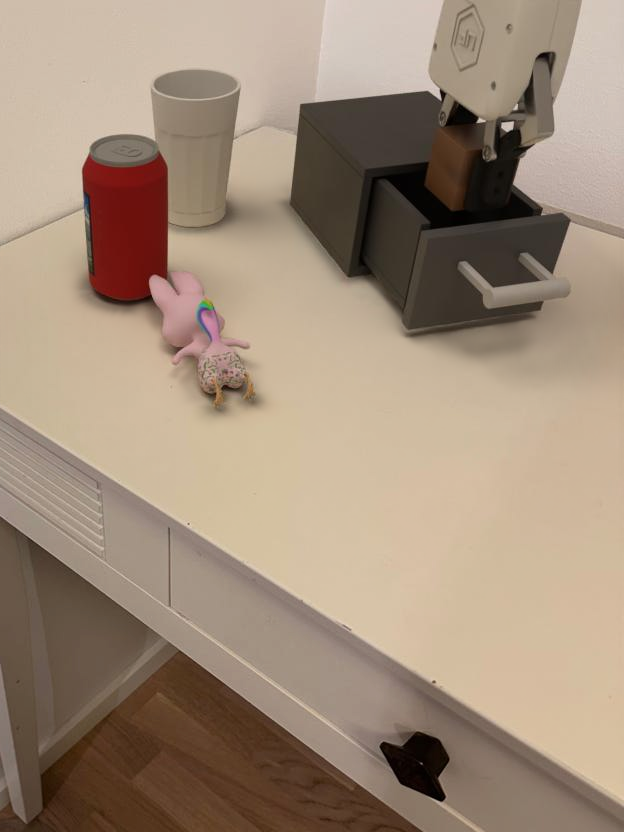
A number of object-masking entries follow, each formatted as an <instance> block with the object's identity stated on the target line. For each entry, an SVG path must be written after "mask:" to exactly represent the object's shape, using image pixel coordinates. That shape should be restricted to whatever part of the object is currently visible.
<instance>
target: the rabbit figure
mask: <svg viewBox="0 0 624 832" xmlns="http://www.w3.org/2000/svg"><path fill="white" fill-rule="evenodd" d="M169 276H170V278H171V281H172V283H173V286H174V287H175V288H173V286H172V285H171V284H170V282H169V281H168V279H167V280H165V279H163V278H162V277H159V276H157V275H153V276H151V278H150V280H149V286H150V290H151V296H152V300H153V302H154V303H155V304H156V306H157V307H158V308H159V309H160V310H161V313H162V315H163V321H162V328H161V337H162V338H163V339H164V341H165V342H167V343H168V344H169V345H171V346H173V347H177V348H181V349H180V350H178V351H177V353H176V354H175V355H174V356H173V358H172V359H171V365H173V366H177V365H180V363H181V360H182V359H183V358H185V357H189V356H193V357H194V358H195V359H196V360H197V361H198V364H197V378H198V382H199V385H200V387H201V389H202V390H203V391H204V392H206V393H207V394H216V395H215V400H214V401H213V403H212V405H213V407H215V405H216V409H217V410H218V409H219V404H221V403H224V404H225V405H226V404H227V403H226V401H225V400H224V399H223V394H222V391H223V390H221V389H222V388H223V386H227V387H229V388H232V389H238V388H241V387H242V386H243V385H244V384H245V382H246V383H247V389H246V390H247V391H246V393H245V395H244V396H243V400H245V398H246V397H248V400H249V401H250V402H252V398H251V397H252V396H253V397H254V398H257V397H256V392H255V391H254V386H253V385H254V382H251V379H250V374H249V372H248V371H247V369H246V367H245V364H244V362H243V360H242V358H241V356H240V354H239V353H238V351H236V350H235V349H233V348H232V347H237V348H240V349H242V350H249V349H250V348H251V344H250V342H248V341H244V340H240V339H235V338H225V337H224V338H223V337H221V333H222V332H223V330H224V328H225V324H226V321H225V318H224V317H223V316H222V315H221V314H220V313H219V312H218V311H217V310H216V309H215V306H214V305H213V302H212V300H209V298H207V297H206V296H205V288H204V286H203V284H202V282H201V281H200V280H199V279H198V278H197V277H196V276H195V275H194V274H193V273H191V272H188V271H184V270H172V271H171V270H170V271H169ZM175 289H176V290H175ZM176 291H177V292H176ZM177 293H178V294H177Z"/></svg>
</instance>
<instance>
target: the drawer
mask: <svg viewBox="0 0 624 832" xmlns="http://www.w3.org/2000/svg"><path fill="white" fill-rule="evenodd" d="M426 175H427V171H421V172H413V173H405V174H396V175H388V176H379V177H372V184H371V190H370V196H369V202H368V208H367V214H366V220H365V226H364V232H363V238H362V244H361V250H360V256H359V257H360V258H361V259H362V260H363V261H364V263H365V264H366V265H367V266H368V267H369V269H370V270H371V271H372V272H373V273H372V274H373V275H374V276H375V277H376V278H377V280H378V281H379V282H380V283H381V285H382V286H383V287H384V288H385V289H386V290H387V292H389V294H390V295H391V296H392V297H393V298H394V300H395V302H397V303H398V305H399V306H400V307H401V308H402V309H403V315H402V320H401V323H402V325H403V326H404V327H405V328H406V329H407V331H412V330H419V329H420V330H421V329H424V328H425V329H427V328H432V327H439V326H445V325H451V324H453V325H454V324H458V323H459V324H460V323H465V322H473V321H479V320H485V319H486V320H487V319H494V318H500V317H507V316H513V315H520V314H526V313H533V312H540V311H541V310H542V307H543V305H544V302H545V301H551V300H557V299H564V298H567V297H568V296H569V295H570V294H571V291H572V285H571V281H570V280H569V279H568V278H567V277H559V278H557V277H556V276H555V275H554V272H555V268H556V266H557V262H558V260H559V257H560V253H561V251H562V248H563V245H564V242H565V239H566V237H567V232H568V231H569V228H570V224H571V222H572V221H571V220H572V219H571V218H570V217H568V216H567V215H566V214H565V213H564V212H556V213H555V212H554V213H549V214H543V210H544V208H543V206H541V205H540V204H538V203H537V202H536V201H535V200H534V199H532V198H531V197H530V196H528V195H527V194H526V193H525V192H523V191H522V189H520V188H518V187H517V186H516V185H515V184H513V186H512V190H511V193H510V197H509V201H508V204H507V205H505V206H504V207H502V208H498V209H490V210H482V211H474V212H468V211H467V210H459V211H451V210H450V209H449V208H448V207H447V206H445V205H444V204H443V203H442V202H441V201H440V200H439V199H438V198H437V197H436V196H435V195H434V194H433V193H431V192H430V191H429V190H428V189H427V188H426V187H425V186H424V184H425V179H426Z"/></svg>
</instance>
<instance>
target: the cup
mask: <svg viewBox="0 0 624 832" xmlns="http://www.w3.org/2000/svg"><path fill="white" fill-rule="evenodd" d="M149 84H150V85H149V87H150V98H151V107H152V108H151V109H152V119H153V129H154V141H155V142H157V144H158V146H159V151H160V153H161V155H162V157H163V158H164V160H165V162H166V164H167V167H168V224H169V223H170V224H172V225H175V226H179V227H186V228H200V227H207V226H211V225H213V224H216V223H218V222H220V221H221V220H222V219H223V218H224V217H225V216H226V207H227V193H228V185H229V178H230V171H231V162H232V154H233V146H234V138H235V131H236V130H235V129H236V123H237V118H238V117H237V115H238V109H239V102H240V96H241V89H242V83H241V80H240V79H239V78H238V77H237V76H235V75H233V74H231V73H229V72H225V71H222V70H217V69H210V68H200V67H199V68H195V67H193V68H181V69H174V70H169V71H166V72H163V73H161V74H159V75H156V76H155V77H153V79H151V81H150V83H149Z"/></svg>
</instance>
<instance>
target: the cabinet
mask: <svg viewBox="0 0 624 832" xmlns="http://www.w3.org/2000/svg"><path fill="white" fill-rule="evenodd" d="M441 107H442V101H441V98H438V97H437V96H436V95H434V94H433V93H432V92H431V91H429V90H422V91H421V90H420V91H412V92H403V93H402V92H401V93H393V94H392V93H391V94H383V95H372V96H364V97H354V98H344V99H334V100H325V101H314V102H305V103H300V104H299V112H298V113H299V114H298V121H297V132H296V141H295V142H296V143H295V150H294V151H295V152H294V160H293V161H294V162H293V171H292V181H291V190H290V200H289V204H290V206H292V208H293V209H294V211H295V212H296V213H297V214H298V215H299V217H300V218H301V220H303V222H304V223H305V224H306V225H307V227H308V228H309V230H310V231H311V232H312V233H313V235H314V236H315V237H316V238H317V240H318V241H319V243H321V245H322V246H323V247H324V248H325V250H326V251H327V252H328V254H330V256H331V258H333V260H334V262H336V263H337V265H338V266H339V267H340V269H341V270H342V271H343V272H344V274H345V275H346V276H347V277H355V276H362V275H363V276H364V275H369V274H370V275H371V274H374V273H373V272H372V271H371V270H370V269H369V267H368V266H367V265H366V264H365V263H364V261H363V260H362V259H361V258H360V257H359V256H360V250H361V244H362V238H363V232H364V226H365V220H366V214H367V208H368V202H369V196H370V190H371V184H372V177H379V176H388V175H396V174H405V173H413V172H421V171H427V170H428V165H429V160H430V156H431V151H432V146H433V141H434V137H435V132H436V128H437V127H441V126H440V125H439V121H438V118H439V113H440V110H441Z"/></svg>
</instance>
